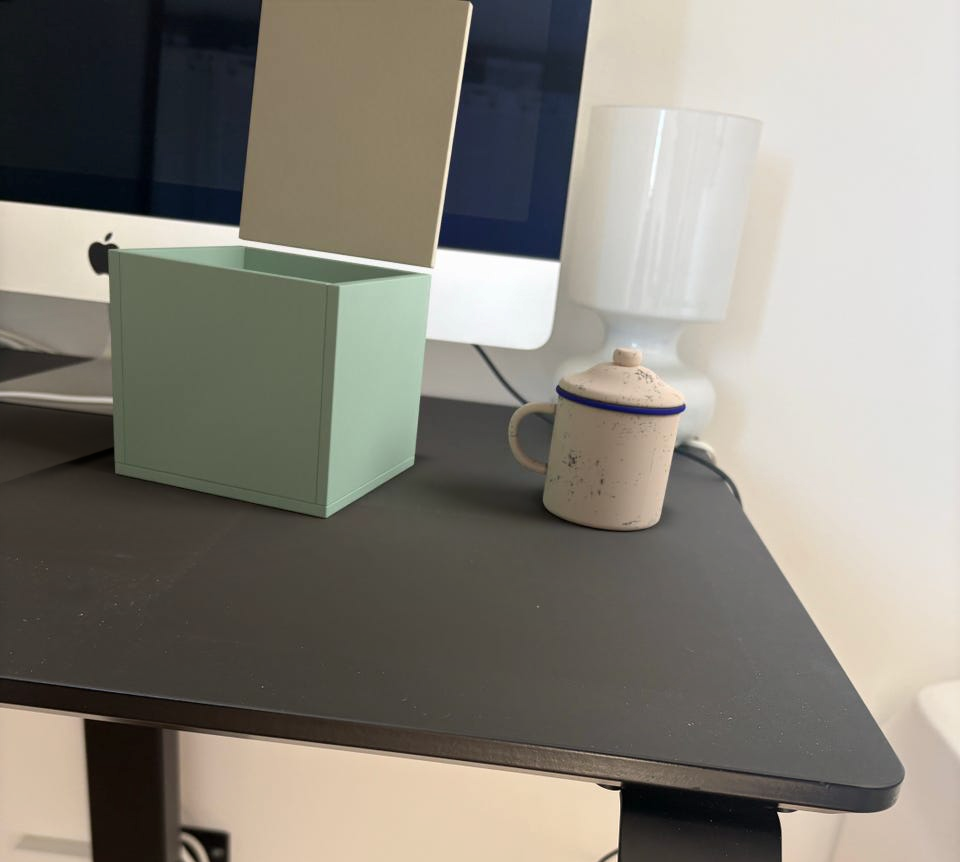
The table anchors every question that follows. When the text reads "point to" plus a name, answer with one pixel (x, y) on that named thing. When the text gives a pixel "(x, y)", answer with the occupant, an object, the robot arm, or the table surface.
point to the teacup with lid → (607, 444)
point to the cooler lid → (354, 125)
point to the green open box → (265, 373)
